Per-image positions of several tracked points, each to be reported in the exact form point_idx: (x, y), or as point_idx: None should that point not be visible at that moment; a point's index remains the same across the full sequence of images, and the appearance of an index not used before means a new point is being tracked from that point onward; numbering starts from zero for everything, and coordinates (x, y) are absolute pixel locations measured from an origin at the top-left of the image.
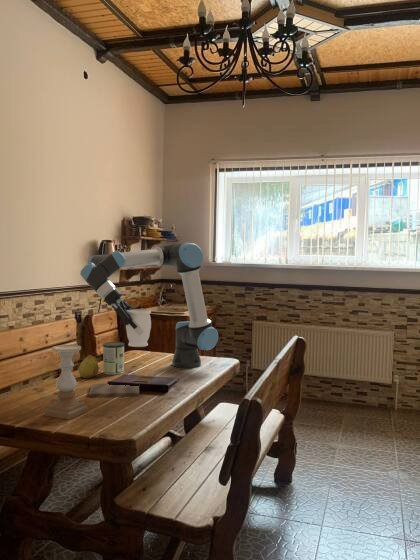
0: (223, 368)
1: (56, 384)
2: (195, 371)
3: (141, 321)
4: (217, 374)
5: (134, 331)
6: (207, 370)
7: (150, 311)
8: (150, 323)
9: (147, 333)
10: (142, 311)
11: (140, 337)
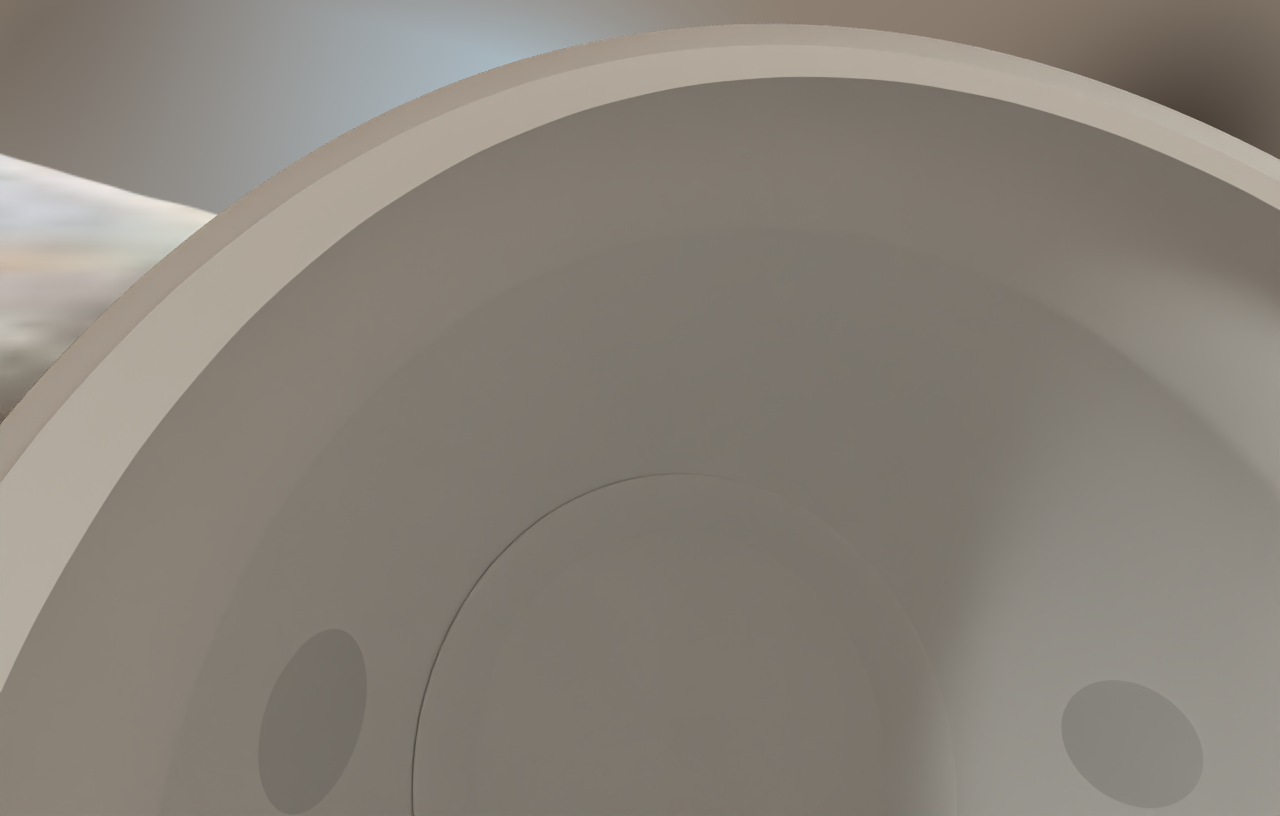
0: (12, 183)
1: None
2: (60, 350)
3: (1126, 524)
4: (198, 220)
5: (1004, 771)
6: (49, 274)
7: (932, 43)
8: (761, 354)
9: (788, 498)
10: (111, 586)
11: (875, 635)
